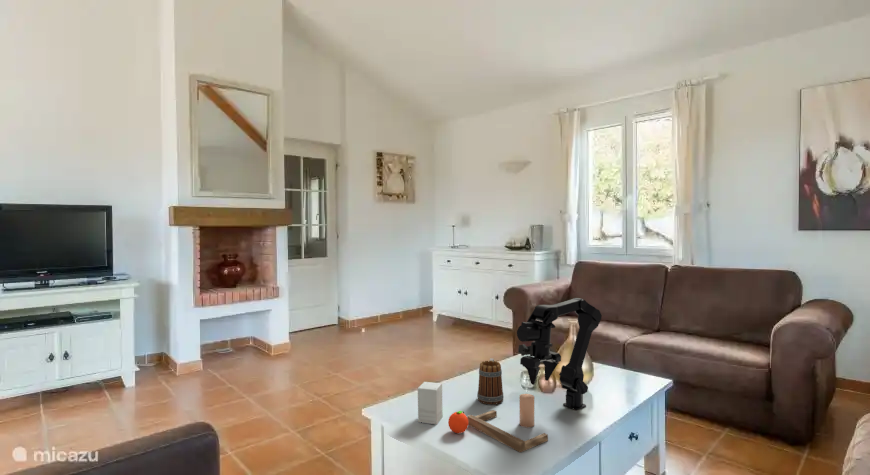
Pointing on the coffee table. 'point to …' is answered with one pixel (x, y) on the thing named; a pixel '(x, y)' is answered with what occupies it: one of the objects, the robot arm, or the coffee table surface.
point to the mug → (490, 383)
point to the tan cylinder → (526, 410)
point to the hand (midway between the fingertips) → (539, 382)
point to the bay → (503, 432)
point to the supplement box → (430, 403)
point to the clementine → (458, 422)
